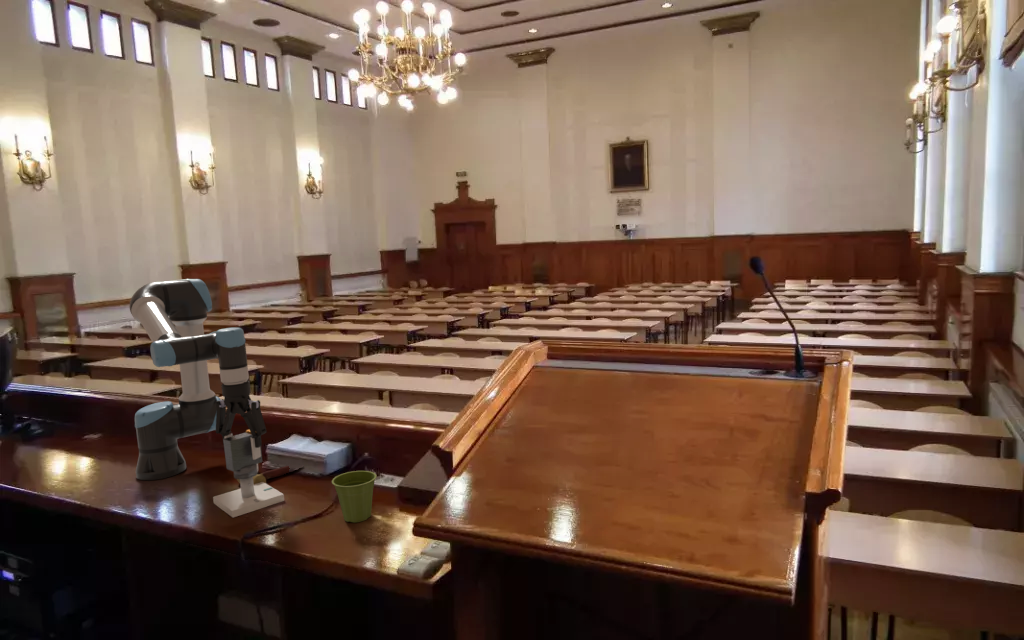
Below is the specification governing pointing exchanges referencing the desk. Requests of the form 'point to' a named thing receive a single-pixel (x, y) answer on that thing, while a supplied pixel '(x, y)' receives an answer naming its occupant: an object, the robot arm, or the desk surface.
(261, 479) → the gavel
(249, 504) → the base
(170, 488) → the desk surface
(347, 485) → the plant pot
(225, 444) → the grey block orange cap
